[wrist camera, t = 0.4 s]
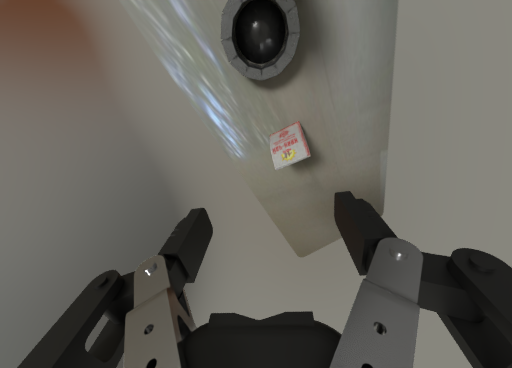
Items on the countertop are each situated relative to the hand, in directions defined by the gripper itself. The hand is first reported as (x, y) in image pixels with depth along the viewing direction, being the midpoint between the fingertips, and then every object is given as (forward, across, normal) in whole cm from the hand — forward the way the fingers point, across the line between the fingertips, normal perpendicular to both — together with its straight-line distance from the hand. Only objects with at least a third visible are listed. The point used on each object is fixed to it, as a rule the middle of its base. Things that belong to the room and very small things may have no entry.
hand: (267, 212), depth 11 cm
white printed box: (+32, -3, +4) cm, 32 cm away
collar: (+27, -1, -14) cm, 30 cm away
